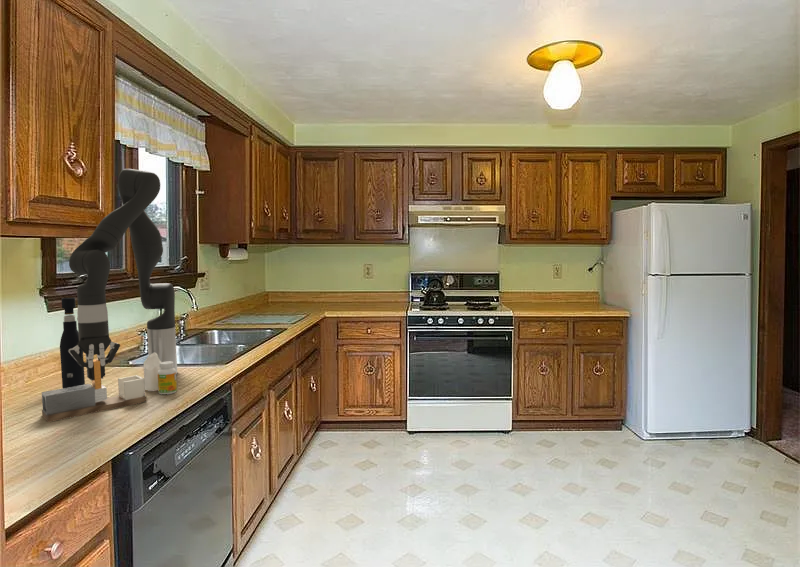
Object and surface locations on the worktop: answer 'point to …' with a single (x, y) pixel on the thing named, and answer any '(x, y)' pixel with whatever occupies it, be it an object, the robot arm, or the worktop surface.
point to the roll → (151, 372)
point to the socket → (131, 387)
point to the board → (95, 407)
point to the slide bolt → (97, 383)
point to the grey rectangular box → (68, 399)
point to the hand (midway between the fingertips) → (96, 379)
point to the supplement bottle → (167, 378)
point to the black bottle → (69, 340)
